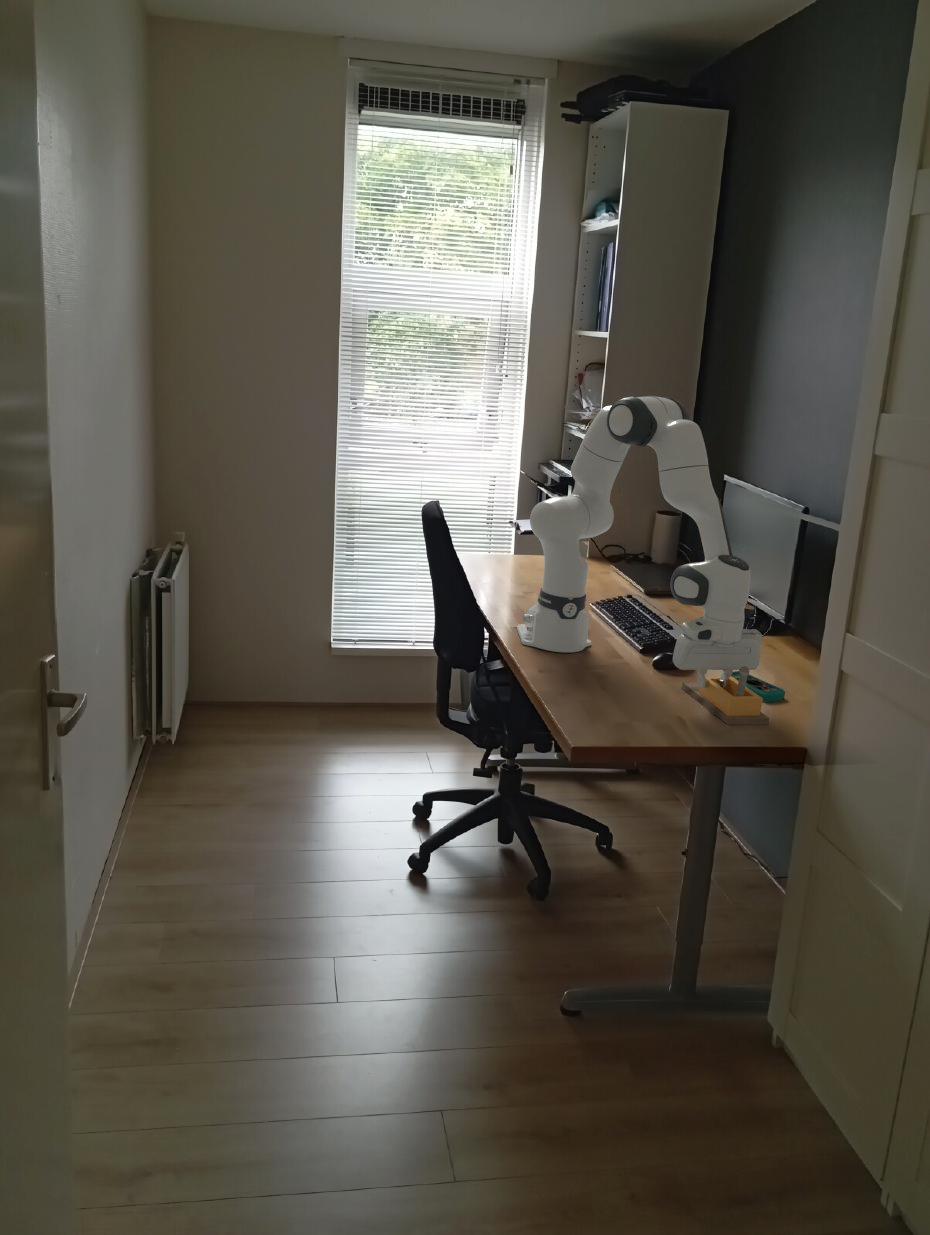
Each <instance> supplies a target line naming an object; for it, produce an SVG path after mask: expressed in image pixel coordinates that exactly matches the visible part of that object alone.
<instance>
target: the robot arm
mask: <svg viewBox="0 0 930 1235" xmlns="http://www.w3.org/2000/svg"><path fill="white" fill-rule="evenodd" d="M631 446H636V447H641V448H644V447H646V446H649V447H650V448H652V449H653V450H654V452H655V453H656V457H657V465H658V466H657V468H658V476H659V478H658V479H659V486H660V489H661V493H662V496H663V498H664V499H665V502H667V503H668V504H669V505H670V506H672V507H673V508H674V509H677V510H679V511H681V512H683V513H684V514H686V515H688V516H689V517H691V518H692V519H693V521H694V522H695V523H696V525H697V527H698V531H699V536H700V539H701V543H702V548H703V554H704V561H699V562H697V561H696V562H691V563H686V564H683V565H680V566H678V567H676V568H675V570H674V571H673V573H672V574H671V578H670V583H669V584H670V585H669V586H670V591H671V594H672V596H673V597H674V599H675V600H676V601H677V602H678V603H679V604H682V605H684V606H685V605H686V606H692V607H693V606H694V607H702V608H703V609H704V610H703V616H700V617H697V618H695V619H692V620H691V619H690V620H689V621H685V622H682V623H681V625H680V632H682V633H681V634H680V635H679V636H678V638H677V639H676V642H675V644H674V645H675V646H674V650H673V654H672V662H673V665H674V666H675V667H676V668H677V669H678V670H682V671H692V670H694V671H696V672H697V675H698V677H699V682H700V683H699V685H700V687H701V688H708V687H709V682H710V681H709V680H707V679H706V678H705V677H706V675H707V674H708V670H709V671H716V670H717V671H722V674H721V675H722V676H721V675H720V676H719V677H720V678H717V680H716V681H717V682H716V684H718V685H719V686H720V687H722V688H725V685H726V681H727V680H728V679H729V677H730V676H731V675H732V672H734V670H735V671H739V669H740V668H741V667H743V666H746V667H748V668H749V671H754V670H756V669H757V668H759V666H760V662H761V645H762V641H763V634H762V633H761V632H760V631H759V630H758V629H756V628H752V629H749V628H748V629H747V628H744V624H745V618H746V617H745V609H746V608H745V607H746V605H747V603H748V601H749V595H750V590H751V578H752V574H751V566H750V565H749V564H748V563H747V562H746V561H745V560H744V559H742V558H741V557H738V556H734V555H733V552H732V546H731V544H730V543H731V542H730V537H729V532H728V529H727V525H726V524H727V523H726V519H725V515H724V511H723V507H722V504H721V501H720V498H719V497H718V495H717V494H716V492H715V489H714V486H713V484H712V479H711V474H710V467H709V458H708V453H707V448H706V444H705V441H704V437H703V433H702V430H701V427H700V426H699V424H697V423H696V422H694V421H693V420H690V414H689V412H688V409H687V407H686V406H685V405H684V404H683V403H682V402H680V401H679V400H677V399H674V398H670V397H660V396H655V395H647V396H637V397H635V396H629V397H623V398H622V399H621V398H620V399H618V400H617V401H615V402H614V403H613V404H611V405H606V406H604V407H603V408H601V409H600V410H599V412H598V413H597V414H596V415H595V417H594V418H593V420H592V422H591V423H590V425H589V427H588V429H587V431H586V433H585V434H584V436H583V438H582V441H581V443H580V446H579V448H578V450H577V452H576V455H575V457H574V459H573V462H572V464H571V466H570V473H571V476H572V478H573V480H574V487H573V490H572V493H571V494H569V495H568V496H566V495H565V496H555V497H550V498H548V499H545V500H542V501H540V502H537V504H535V505H534V507H532V510H531V513H530V515H529V524H530V528H531V531H532V532H533V534H534V535H535V537H536V538H537V539H539V542H540V544H541V547H542V551H543V552H542V553H543V558H544V559H543V560H544V562H543V563H544V566H543V575H542V576H543V577H542V586H541V588H540V591H539V592H538V596H537V597H538V598H537V602H536V603H535V604H534V605H533V606H532V607H530V608H529V609H528V610H527V613H524V614H523V616H522V622H523V623H521V624H517V626H516V631H517V633H518V636H519V638H520V641H521V643H522V645H524V646H528V647H533V648H537V649H541V650H545V651H549V652H556V653H578V652H581V651H583V650H585V648H587V647H590V646H592V640H591V639H588V633H589V632H588V631H589V614H588V613H587V612H586V610H585V608H586V605H587V594H586V589H587V582H588V581H587V580H588V573H589V566H588V565H589V564H588V562H587V561H586V559H584V558H583V557H582V556H581V552H580V545H579V544H580V540H581V539H590V538H594V537H596V536H597V537H598V536H599V535H601V534H604V533H606V532H607V531H609V529H610V528H611V527H612V525H613V524H614V518H615V514H614V508H613V506H612V504H611V493H612V489H613V486H614V483H615V481H616V478H617V475H618V474H619V471H620V469H621V467H622V466H623V462H624V460H625V458H626V456H627V454H628V451H629V449H630V448H631Z"/></svg>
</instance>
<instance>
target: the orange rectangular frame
mask: <svg viewBox="0 0 930 1235" xmlns="http://www.w3.org/2000/svg"><path fill="white" fill-rule="evenodd" d="M720 677H721V676H705V678H706V679H707V680H709V681H710V682H709V687H708V688H701V687H700V688H699V694H701V695H702V696H703V697H704V698H706V699H707V700H708V701H710V702H711V703H712V704H713V705H715V706H716V707H717V708H719V709H720V710H721V711H722V712H724V713H725V714H726V715H727V716H760V712H762V705H763V702H762V701H763V698H761V697H760V696H759V695H757V694H756V693H754V692H753V691H752V690H750V689H749V688H747V687H746V686H745V691H744V696H736V694H737V688H738V682H739V681H737V680H736V679H735V678H733V677H729V679H728V680H727V681H726V685H725V688H722V687H720V686H719V685H718V684H716V682H717V681H716V680H717V678H720Z"/></svg>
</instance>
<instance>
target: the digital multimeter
mask: <svg viewBox="0 0 930 1235" xmlns="http://www.w3.org/2000/svg"><path fill="white" fill-rule="evenodd" d="M721 676H722V674H721V675H720V677H721ZM730 677H733V678H735V679H736V680H737V681H739V677H740V673H739V670H735V671H733V672H732V675H731V676H730ZM746 687H747V688H749V689H750V690H752V691H753V692H754V693H756V694H757V695H759V696H760V697H761V698H763V701H762V703H774V702H777V701H782V700H783V699H785V694H786V690H784V688H782V687H779V686H776V685H775V684H774V685H773V684H771V683H769V682H767V681H764V680H762V679H760V678H758V677H755V676H754V675H752V674H750V673H749V674H748V675H747V680H746Z"/></svg>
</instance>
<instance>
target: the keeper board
mask: <svg viewBox="0 0 930 1235" xmlns="http://www.w3.org/2000/svg"><path fill="white" fill-rule="evenodd" d="M738 671H739V673H740V677H739V682H738V688H737V694H736V696H744V691H745V686H746V680H747V675H748V674H749V675H750V670H749V668H748V667H746V666H743V667H741V668H740V669H739V670H738ZM699 683H700V681H698V682H690V681H689V682H685V681H684V682H681V684H682V685H681V689H682V691H684V692H686V693H687V694H688V695H689V696H690V697H692V698H693V699H694V700H696V701H697V702H698V703H699V704H700V705H702V706H703V707H704V708H706V709H707V710H708V711H709V712H710V711H711V712H710V713H711V714H713V713H714V714H715V715H717V716H718V717H717V716H716V717H717V718H718V719H719V718H720V719H721V720H720V719H719V720H720V721H721V722H723V721H724V722H725V723H726V725H727V726H740V725H741V726H742V725H748V726H749V725H769V721H770V717H768V716H767V715H766V714H765V713H763V712H762V711H761V712H760V716H727V715H726V714H725V713H724V712H722V711H721V710H720V709H719V708H717V707H716V706H715V705H713V704H712V703H711V702H710V701H708V700H707V699H706V698H704V697H703V696H702V695H701V694H699V688H700V685H699ZM714 714H713V715H714ZM715 715H714V716H715ZM724 722H723V723H724ZM725 723H724V724H725Z"/></svg>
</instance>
